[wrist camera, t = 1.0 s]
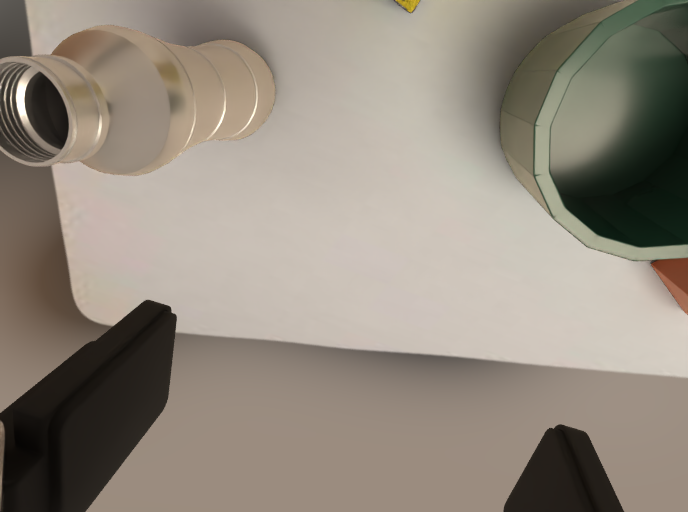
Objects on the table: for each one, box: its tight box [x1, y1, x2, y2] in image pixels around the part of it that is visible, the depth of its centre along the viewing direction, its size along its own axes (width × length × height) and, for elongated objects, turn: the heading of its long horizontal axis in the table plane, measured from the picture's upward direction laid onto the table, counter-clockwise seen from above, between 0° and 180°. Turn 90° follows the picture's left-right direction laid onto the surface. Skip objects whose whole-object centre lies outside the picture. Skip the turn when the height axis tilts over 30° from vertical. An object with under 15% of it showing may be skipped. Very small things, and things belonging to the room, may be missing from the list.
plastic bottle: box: [0, 25, 275, 176], centre depth 24 cm, size 6×7×20 cm
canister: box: [500, 0, 688, 261], centre depth 26 cm, size 13×13×10 cm
